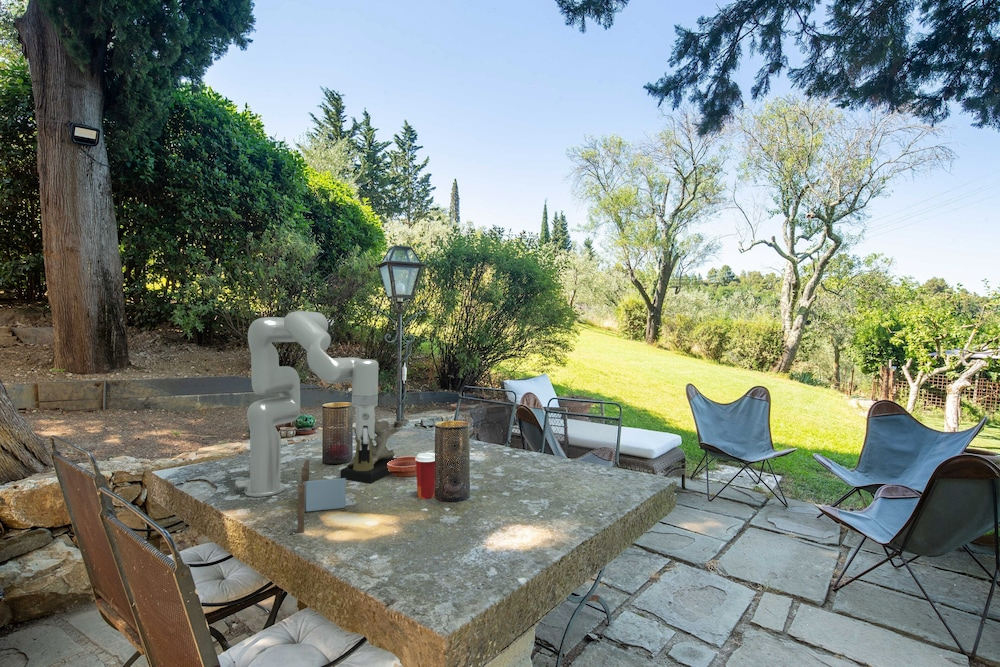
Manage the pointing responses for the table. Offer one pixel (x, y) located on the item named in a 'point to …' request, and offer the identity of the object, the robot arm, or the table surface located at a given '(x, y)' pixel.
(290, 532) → the table surface
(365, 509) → the table surface
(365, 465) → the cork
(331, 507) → the door
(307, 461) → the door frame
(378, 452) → the coral
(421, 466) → the paper cup
